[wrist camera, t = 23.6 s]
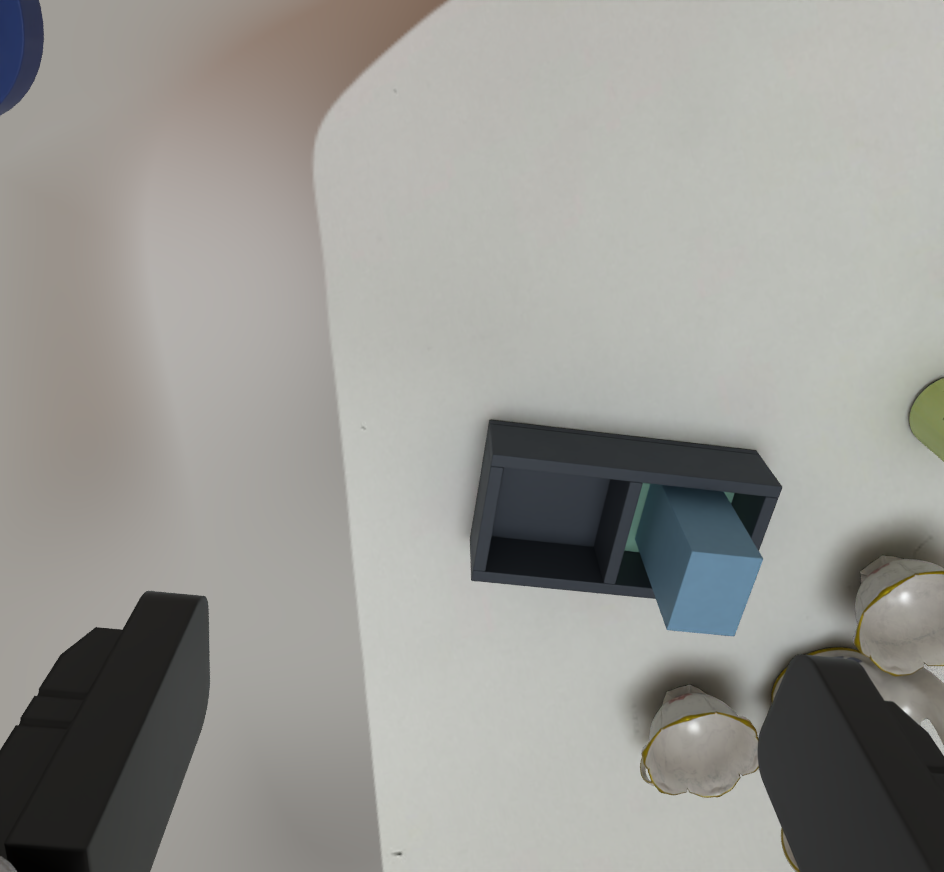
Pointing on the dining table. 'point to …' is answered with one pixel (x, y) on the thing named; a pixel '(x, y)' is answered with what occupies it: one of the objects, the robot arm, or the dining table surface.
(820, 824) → the robot arm
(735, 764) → the chinaware
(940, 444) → the tube
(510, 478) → the tray
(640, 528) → the steel-blue rectangular block
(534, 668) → the dining table surface
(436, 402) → the dining table surface
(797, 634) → the dining table surface
